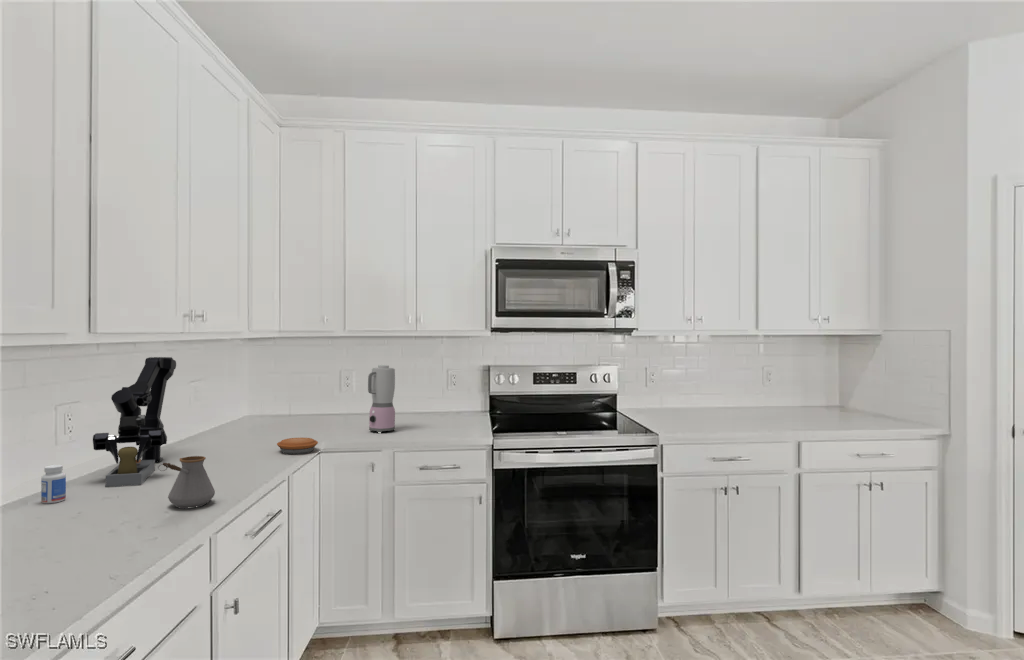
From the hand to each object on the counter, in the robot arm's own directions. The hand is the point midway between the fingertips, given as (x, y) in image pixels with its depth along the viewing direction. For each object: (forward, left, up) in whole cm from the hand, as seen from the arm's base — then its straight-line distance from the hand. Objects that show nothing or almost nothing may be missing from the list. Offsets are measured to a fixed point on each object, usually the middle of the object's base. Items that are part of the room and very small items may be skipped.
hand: (127, 462), depth 184 cm
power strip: (-7, 0, -7) cm, 9 cm away
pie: (-36, +51, -7) cm, 63 cm away
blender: (-73, +89, -7) cm, 115 cm away
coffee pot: (+34, +20, -7) cm, 41 cm away
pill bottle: (+16, -14, -7) cm, 22 cm away
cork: (-1, 0, -7) cm, 7 cm away
